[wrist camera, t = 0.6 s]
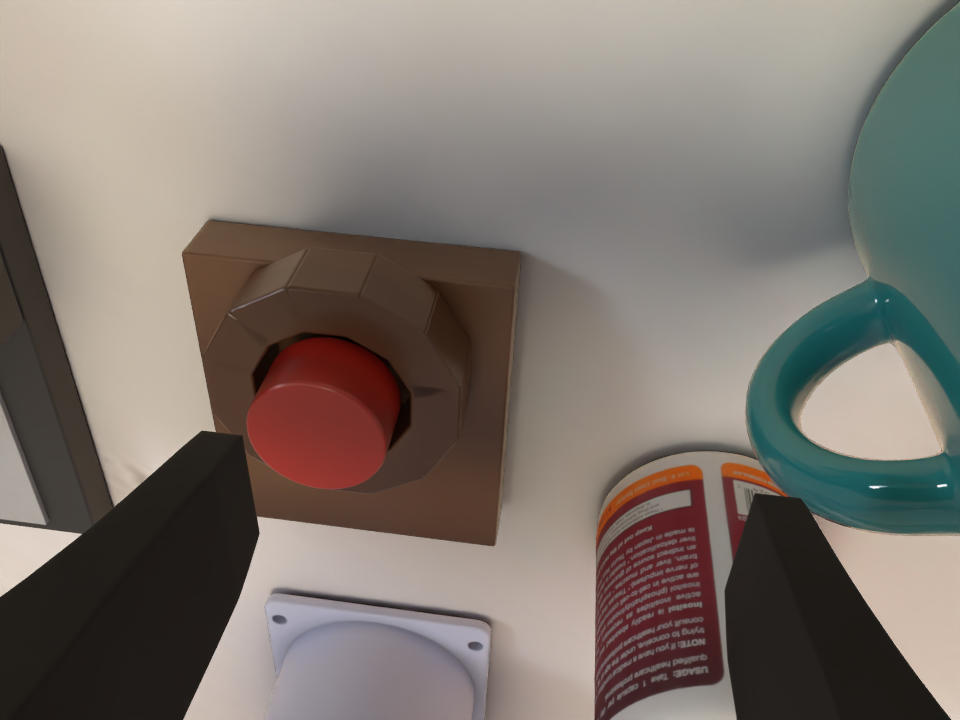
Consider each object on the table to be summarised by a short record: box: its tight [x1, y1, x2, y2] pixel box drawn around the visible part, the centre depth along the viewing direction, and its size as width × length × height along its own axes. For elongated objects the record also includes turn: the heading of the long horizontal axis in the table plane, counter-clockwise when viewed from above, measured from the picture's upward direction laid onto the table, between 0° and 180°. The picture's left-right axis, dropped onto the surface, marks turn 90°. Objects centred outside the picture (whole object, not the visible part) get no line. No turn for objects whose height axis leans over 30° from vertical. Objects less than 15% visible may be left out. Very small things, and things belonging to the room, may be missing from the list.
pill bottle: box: [595, 451, 788, 720], centre depth 22 cm, size 6×6×11 cm
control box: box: [182, 221, 521, 546], centre depth 23 cm, size 10×8×4 cm
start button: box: [246, 337, 401, 489], centre depth 20 cm, size 3×3×2 cm
